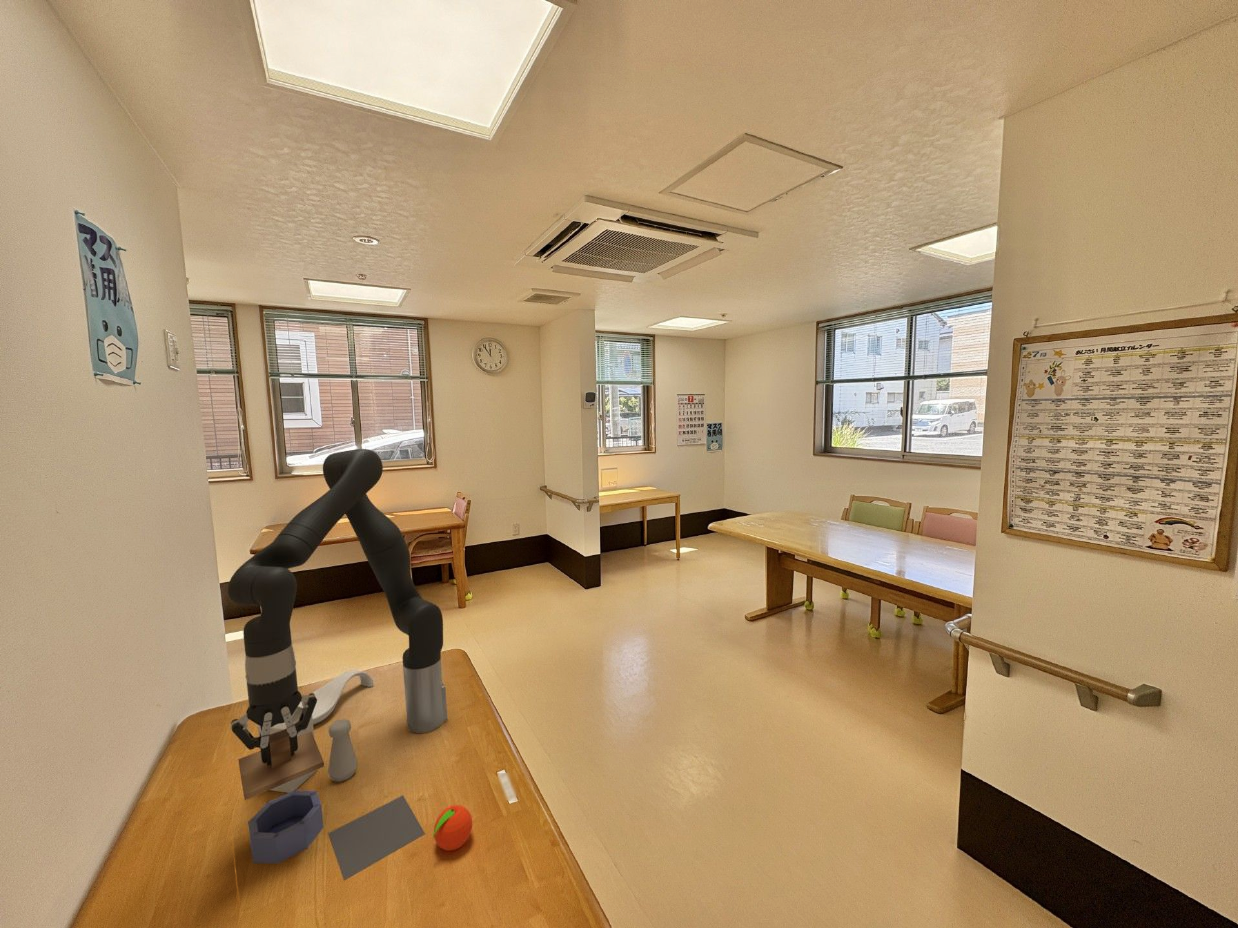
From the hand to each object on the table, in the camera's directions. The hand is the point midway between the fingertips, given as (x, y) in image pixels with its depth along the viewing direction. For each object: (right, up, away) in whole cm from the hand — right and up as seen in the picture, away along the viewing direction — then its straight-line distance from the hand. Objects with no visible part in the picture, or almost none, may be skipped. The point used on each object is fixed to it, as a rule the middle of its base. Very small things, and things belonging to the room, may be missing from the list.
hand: (280, 757), depth 93 cm
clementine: (+33, -17, 0) cm, 37 cm away
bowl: (0, -17, +2) cm, 17 cm away
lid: (0, -2, 0) cm, 2 cm away
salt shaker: (+2, -15, +18) cm, 24 cm away
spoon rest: (-16, -13, +45) cm, 50 cm away
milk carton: (-9, -16, +17) cm, 25 cm away
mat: (+17, -17, +2) cm, 24 cm away
